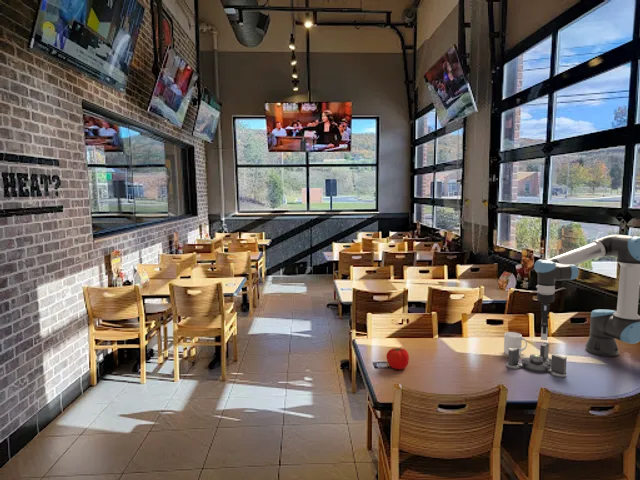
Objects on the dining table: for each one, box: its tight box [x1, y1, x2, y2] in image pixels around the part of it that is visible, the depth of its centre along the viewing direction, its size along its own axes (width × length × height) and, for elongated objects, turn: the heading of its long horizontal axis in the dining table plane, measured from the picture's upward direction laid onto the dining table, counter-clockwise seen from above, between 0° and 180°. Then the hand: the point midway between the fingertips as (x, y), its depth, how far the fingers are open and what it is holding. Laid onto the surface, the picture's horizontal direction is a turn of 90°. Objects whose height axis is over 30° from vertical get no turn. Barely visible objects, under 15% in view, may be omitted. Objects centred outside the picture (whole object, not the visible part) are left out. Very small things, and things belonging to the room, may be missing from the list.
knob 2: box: [539, 340, 550, 360], centre depth 224 cm, size 6×2×8 cm, turn 134°
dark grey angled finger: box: [507, 347, 520, 366], centre depth 218 cm, size 6×2×8 cm, turn 125°
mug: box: [503, 331, 528, 356], centre depth 235 cm, size 9×12×11 cm
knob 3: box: [550, 353, 568, 374], centre depth 207 cm, size 6×2×8 cm, turn 34°
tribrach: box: [505, 353, 567, 378], centre depth 217 cm, size 25×24×6 cm
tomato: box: [385, 346, 410, 370], centre depth 219 cm, size 11×13×10 cm
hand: (544, 335), depth 212 cm, fingers open, 13 cm apart
